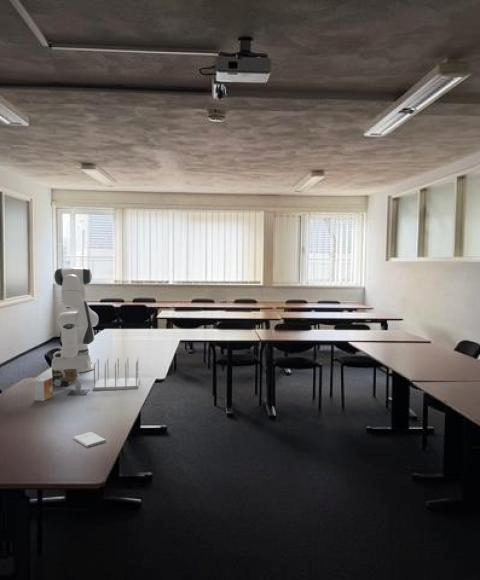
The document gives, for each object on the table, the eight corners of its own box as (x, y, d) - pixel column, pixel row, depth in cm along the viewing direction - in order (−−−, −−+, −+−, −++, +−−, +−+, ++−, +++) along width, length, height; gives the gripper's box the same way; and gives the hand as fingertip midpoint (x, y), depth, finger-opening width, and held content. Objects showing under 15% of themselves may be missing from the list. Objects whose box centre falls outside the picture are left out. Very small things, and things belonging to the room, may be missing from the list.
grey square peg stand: (71, 390, 264) (70, 379, 263) (89, 389, 265) (89, 378, 265) (67, 395, 254) (66, 383, 254) (86, 395, 255) (85, 383, 255)
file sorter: (92, 390, 264) (91, 363, 263) (96, 382, 281) (96, 356, 280) (138, 388, 268) (137, 361, 267) (139, 380, 285) (139, 355, 284)
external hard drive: (87, 449, 186) (73, 440, 195) (106, 443, 192) (91, 434, 201) (87, 445, 186) (73, 436, 195) (106, 439, 192) (91, 431, 201)
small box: (44, 401, 245) (43, 381, 244) (34, 400, 246) (34, 380, 245) (53, 396, 253) (52, 377, 252) (44, 396, 254) (43, 376, 253)
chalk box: (72, 382, 282) (71, 357, 281) (68, 386, 273) (68, 361, 272) (56, 382, 281) (55, 358, 280) (52, 386, 272) (51, 361, 270)
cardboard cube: (67, 379, 270) (67, 368, 270) (76, 379, 271) (76, 367, 270) (65, 381, 265) (64, 370, 265) (74, 381, 266) (74, 370, 265)
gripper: (90, 351, 271) (90, 374, 273) (53, 352, 268) (53, 375, 270) (88, 353, 265) (88, 377, 266) (50, 354, 262) (51, 379, 264)
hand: (70, 376), depth 268 cm, fingers closed on cardboard cube, 5 cm apart
